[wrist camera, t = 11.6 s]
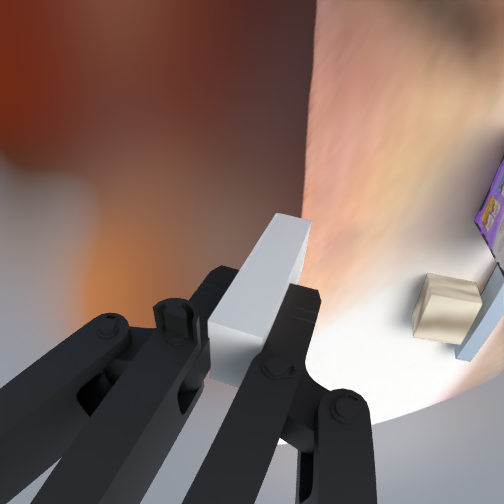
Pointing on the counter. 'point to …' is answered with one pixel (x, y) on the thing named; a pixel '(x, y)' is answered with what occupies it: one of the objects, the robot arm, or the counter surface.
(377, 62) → the counter surface
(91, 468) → the robot arm
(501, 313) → the blue-grey bar
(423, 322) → the block
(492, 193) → the candy box
